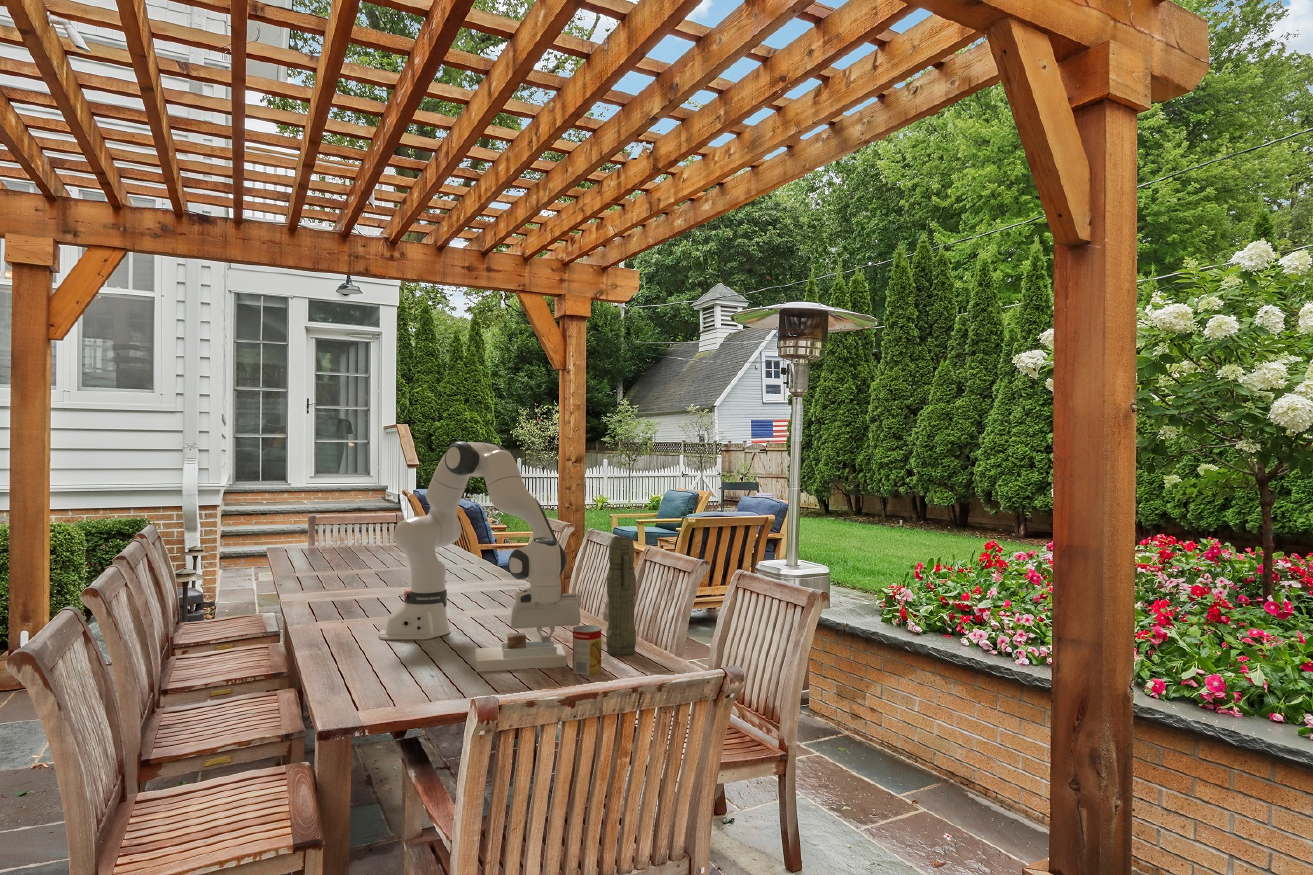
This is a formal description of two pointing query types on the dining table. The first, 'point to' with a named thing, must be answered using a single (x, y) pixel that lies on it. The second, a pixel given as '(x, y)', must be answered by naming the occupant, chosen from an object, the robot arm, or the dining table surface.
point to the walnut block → (516, 640)
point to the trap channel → (520, 657)
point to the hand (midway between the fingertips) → (545, 642)
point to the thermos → (621, 598)
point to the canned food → (587, 650)
